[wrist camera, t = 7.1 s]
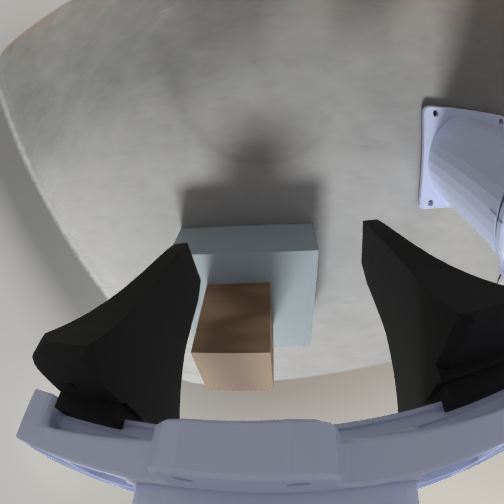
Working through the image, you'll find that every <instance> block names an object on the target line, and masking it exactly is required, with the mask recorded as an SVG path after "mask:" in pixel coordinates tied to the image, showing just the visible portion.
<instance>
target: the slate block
mask: <svg viewBox="0 0 504 504" xmlns="http://www.w3.org/2000/svg"><path fill="white" fill-rule="evenodd" d="M187 242H188V245H189V248H190V251H191V254H192V257H193V260H194V262H195V265H196V268H197V271H198V273H199V276H200V279H201V284H200V292H199V299H198V304H197V307H196V311H195V315H194V318H193V322H192V325H191V329H192V332H193V335H194V337H195V333H196V329H197V324H198V320H199V316H200V312H201V307H202V303H203V299H204V295H205V291H206V287H207V285H213V284H241V283H266V282H270V285H271V299H272V313H273V347H276V346H303V345H310V341H311V332H312V323H313V313H314V303H315V292H316V280H317V267H318V253H319V250H318V246H317V241H316V237H315V233H314V229H313V225H312V223H300V224H270V225H245V226H222V227H202V228H184V229H181V230H180V232H179V235H178V237H177V239H176V241H175V243H174V244H179V243H187Z"/></svg>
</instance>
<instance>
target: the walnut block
mask: <svg viewBox="0 0 504 504" xmlns="http://www.w3.org/2000/svg"><path fill="white" fill-rule="evenodd" d="M191 354H192V356H193V358H194V361H195V363H196V365H197V368H198V370H199V372H200V374H201V377H202V379H203V381H204V383H205V385H206V388H207V389H208V390H232V391H235V390H236V391H237V390H239V391H257V390H258V391H262V390H273V313H272V299H271V285H270V282H266V283H241V284H213V285H207V287H206V291H205V295H204V299H203V303H202V307H201V312H200V316H199V320H198V324H197V329H196V333H195V337H194V342H193V346H192V351H191Z"/></svg>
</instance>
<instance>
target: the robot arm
mask: <svg viewBox="0 0 504 504" xmlns="http://www.w3.org/2000/svg"><path fill="white" fill-rule="evenodd" d="M434 110H436V115H435V116H434V115H433V111H434ZM499 120H500V123H499ZM430 200H431V202H430V203H429V204H428V202H429V201H430ZM418 204H419V206H420V207H421V208H422V209H431V208H446V207H453V208H454V209H455V210H456V211H457V212H458V213H459V214H460V215H461V216H462V217H463V218H464V219H465V220H466V221H467V222H468V223H469V224H470V225H471V226H472V227H473V228H474V229H475V230H476V231H477V233H478V234H479V235H480V236H481V237H482V238H483V239H484V240H485V241H486V242H487V244H488V245H489V246H490V247H491V248H492V249H493V250H494V252H495V253H496V254H497V255H498V256H499V258H500V267H499V273H500V274H501V275H502V277H503V278H504V116H502V115H497V114H492V113H486V112H480V111H473V110H466V109H459V108H450V107H440V106H429V105H427V106H425V107H424V108H423V109H422V160H421V177H420V189H419V200H418ZM362 266H363V270H364V274H365V277H366V281H367V284H368V287H369V289H370V292H371V294H372V297H373V299H374V302H375V304H376V307H377V309H378V312H379V315H380V317H381V320H382V323H383V325H384V329H385V332H386V336H387V340H388V344H389V349H390V354H391V359H392V364H393V370H394V377H395V384H396V392H397V402H398V413H396V414H391V415H387V416H382V417H377V418H372V419H366V420H361V421H355V422H348V423H342V424H334V425H333V424H331V423H328V422H323V421H319V420H315V419H303V420H302V419H287V420H266V421H216V420H196V419H180V416H179V415H180V414H179V413H180V412H179V411H180V389H181V379H182V369H183V362H184V354H185V349H186V344H187V340H188V336H189V333H190V329H191V325H192V322H193V318H194V315H195V311H196V307H197V304H198V299H199V292H200V284H201V279H200V276H199V273H198V271H197V268H196V265H195V262H194V260H193V257H192V254H191V251H190V248H189V245H188V242H187V243H179V244H174V245H173V246H171V247H170V248H169V249H168V250H166V251H165V252H164V253H163V254H162V255H161V256H160V257H159V258H157V259H156V260H155V261H154V262H153V263H152V264H151V265H150V266H149V267H148V268H147V269H146V270H145V271H143V272H142V273H141V274H140V275H139V276H138V277H137V278H135V279H134V280H133V281H132V282H131V283H130V284H129V285H127V286H126V287H125V288H124V289H122V290H121V291H120V292H119V293H117V294H116V295H114V296H113V297H112V298H110V299H109V300H108V301H106V302H105V303H103V304H101V305H100V306H98V307H97V308H95V309H94V310H92V311H91V312H89V313H87V314H85V315H84V316H82V317H80V318H78V319H76V320H74V321H72V322H70V323H68V324H66V325H64V326H62V327H59V328H57V329H55V330H52V331H50V332H48V333H45V334H44V336H43V337H42V339H41V341H40V343H39V344H38V346H37V348H36V350H35V351H34V353H33V360H34V364H35V365H36V367H37V368H38V370H39V371H40V372H41V373H42V374H43V375H44V376H45V377H46V378H47V379H48V380H49V381H50V382H51V383H52V384H53V385H54V386H55V387H56V388H58V389H59V390H60V391H61V392H60V395H59V397H57V396H55V395H53V394H51V393H47V392H44V391H41V390H38V389H36V390H35V392H34V394H33V396H32V398H31V400H30V403H29V405H28V407H27V410H26V412H25V415H24V417H23V419H22V422H21V424H20V427H19V430H18V432H17V438H18V439H20V440H21V441H23V442H24V443H26V444H27V445H29V446H30V447H32V448H34V449H35V450H37V451H38V452H40V453H42V454H43V455H45V456H47V457H48V458H50V459H52V460H54V461H56V462H58V463H60V464H62V465H64V466H66V467H69V468H71V469H73V470H75V471H78V472H80V473H83V474H85V475H88V476H90V477H92V478H95V479H98V480H100V481H103V482H106V483H109V484H111V485H114V486H118V487H120V488H123V489H127V490H130V491H133V492H135V494H134V499H133V504H419V500H418V491H417V489H418V488H421V487H424V486H427V485H430V484H433V483H436V482H438V481H441V480H443V479H446V478H448V477H451V476H453V475H456V474H458V473H460V472H462V471H465V470H467V469H469V468H471V467H473V466H475V465H477V464H480V463H482V462H483V461H485V460H487V459H489V458H491V457H493V456H495V455H497V454H499V453H500V452H502V451H504V285H501V284H497V283H493V282H490V281H487V280H484V279H481V278H478V277H476V276H473V275H471V274H468V273H466V272H464V271H461V270H459V269H457V268H454V267H452V266H450V265H448V264H446V263H445V262H443V261H441V260H439V259H437V258H435V257H433V256H432V255H430V254H428V253H427V252H425V251H424V250H422V249H420V248H419V247H417V246H416V245H414V244H413V243H411V242H410V241H408V240H407V239H405V238H404V237H402V236H401V235H400V234H398V233H397V232H395V231H394V230H392V229H391V228H390V227H388V226H387V225H385V224H384V223H382V222H381V221H379V220H367V221H363V241H362Z"/></svg>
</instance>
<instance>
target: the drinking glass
mask: <svg viewBox="0 0 504 504" xmlns="http://www.w3.org/2000/svg"><path fill="white" fill-rule="evenodd" d="M498 284H501V285H504V278H503V277H502V275H501V277H500V279H499V281H498Z"/></svg>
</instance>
